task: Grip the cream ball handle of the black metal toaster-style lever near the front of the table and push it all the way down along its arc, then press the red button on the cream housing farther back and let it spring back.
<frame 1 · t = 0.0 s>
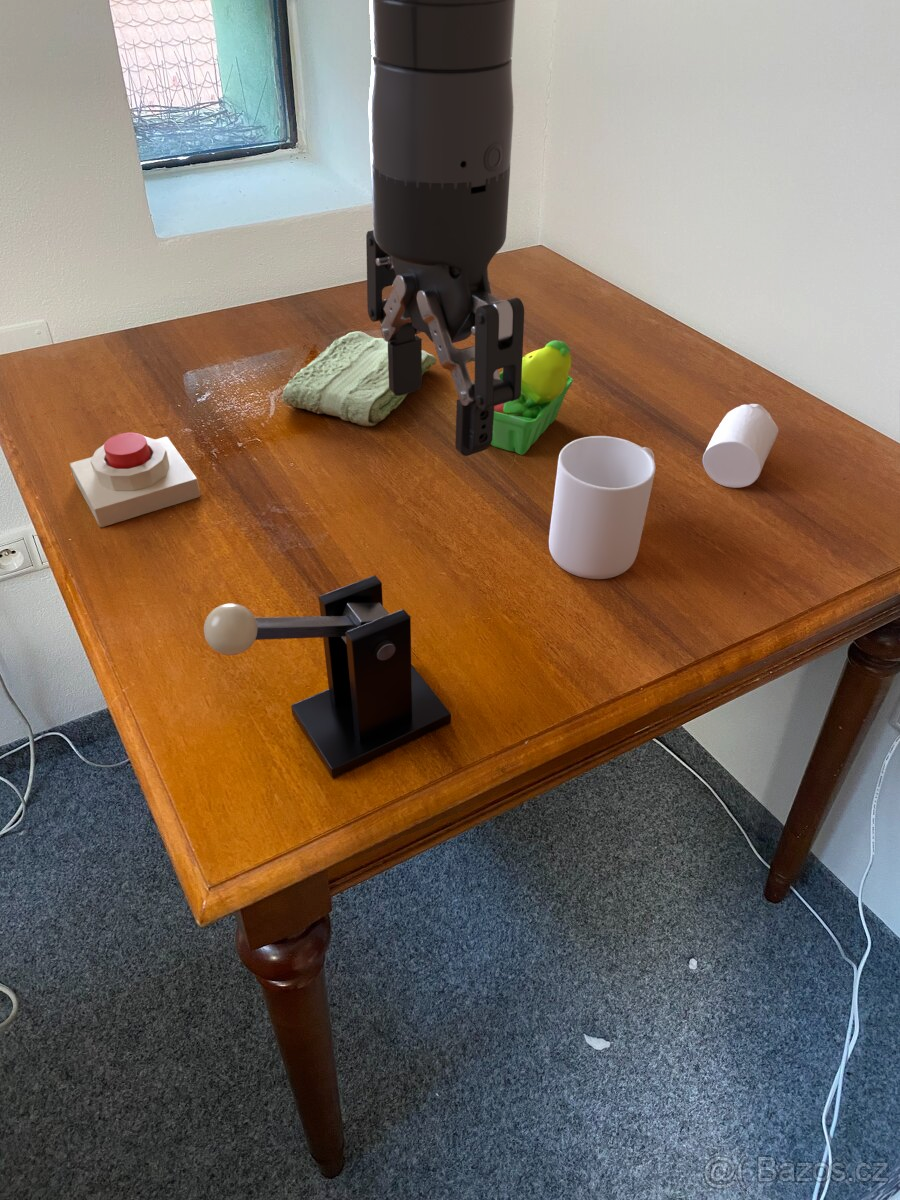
hand: (437, 419, 58), 22 cm above the table, tool pointing down, fingers open, 8 cm apart
button box: (137, 488, 88), on the table
cup: (603, 545, 83), on the table
fruit basket: (523, 433, 98), on the table
bracket: (371, 719, 67), on the table
washcloth: (360, 388, 104), on the table
button: (127, 451, 85), point 4 cm above the table, slide at 0.1 cm
roll: (738, 460, 94), on the table
lever: (300, 627, 57), point 12 cm above the table, hinge at 25.0°
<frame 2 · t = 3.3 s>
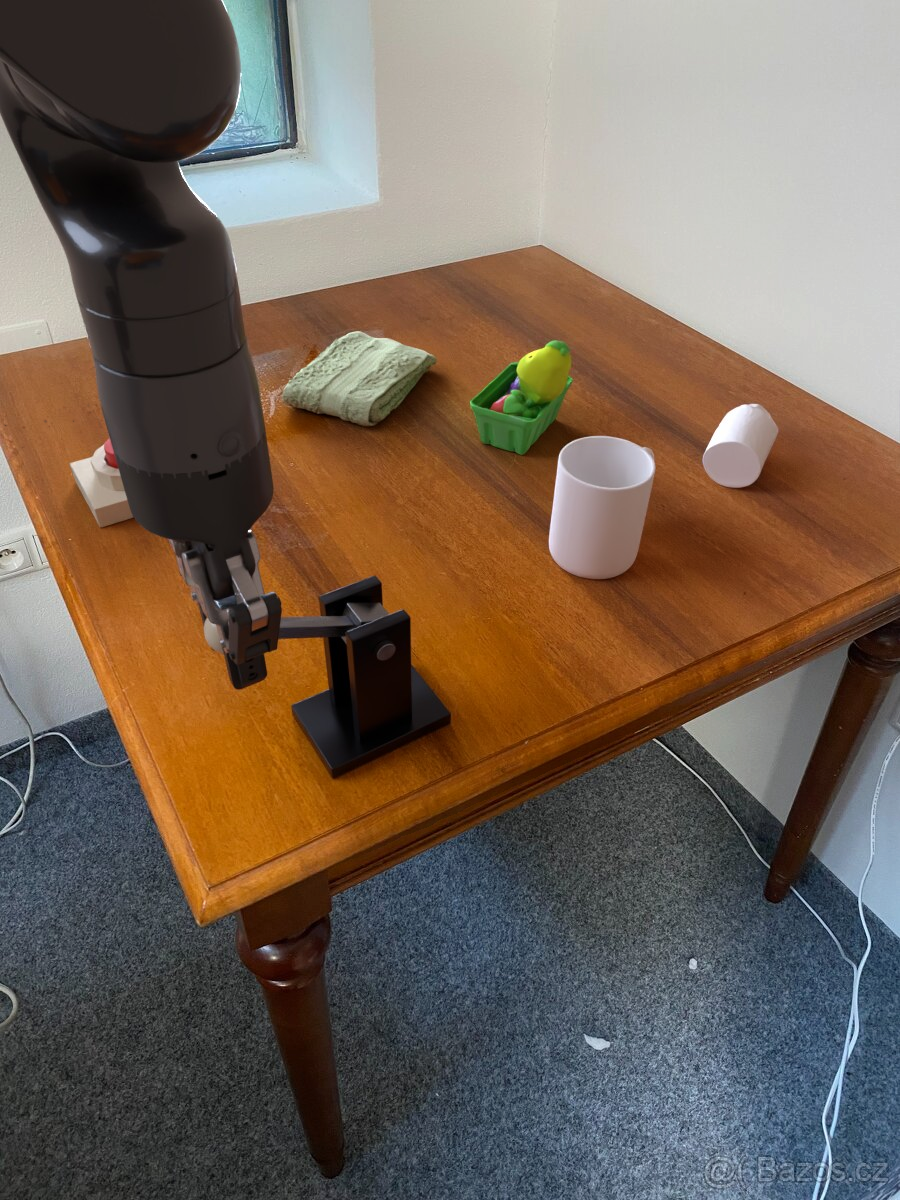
hand: (237, 661, 55), 11 cm above the table, tool pointing down, fingers closed on lever, 3 cm apart
lever: (300, 627, 57), point 12 cm above the table, hinge at 25.0°, touching gripper
everything else where it was.
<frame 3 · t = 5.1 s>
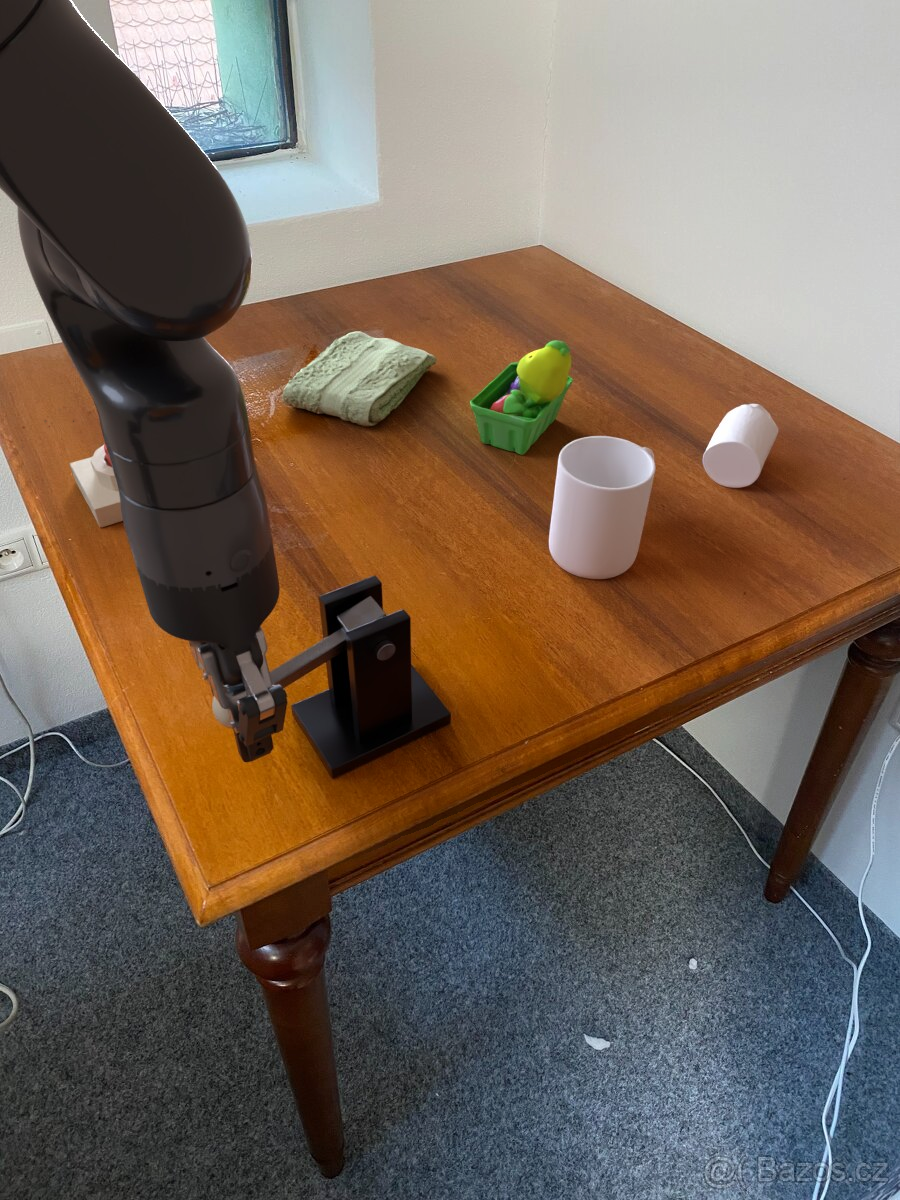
hand: (246, 734, 60), 4 cm above the table, tool pointing down, fingers closed on lever, 3 cm apart
lever: (301, 665, 59), point 9 cm above the table, hinge at -14.1°, touching gripper
everything else where it was.
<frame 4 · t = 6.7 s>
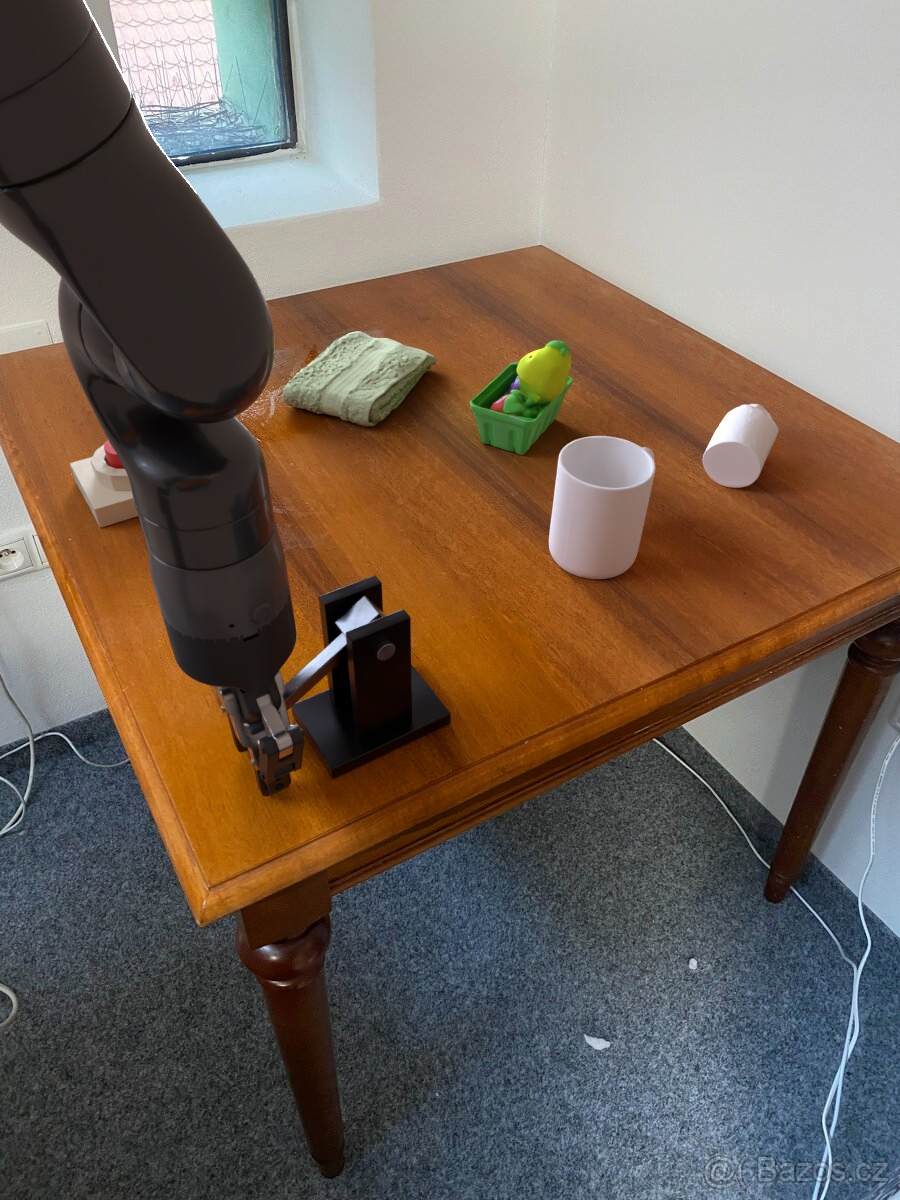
hand: (263, 765, 63), 0 cm above the table, tool pointing down, fingers open, 4 cm apart
lever: (310, 675, 60), point 7 cm above the table, hinge at -30.5°
everything else where it was.
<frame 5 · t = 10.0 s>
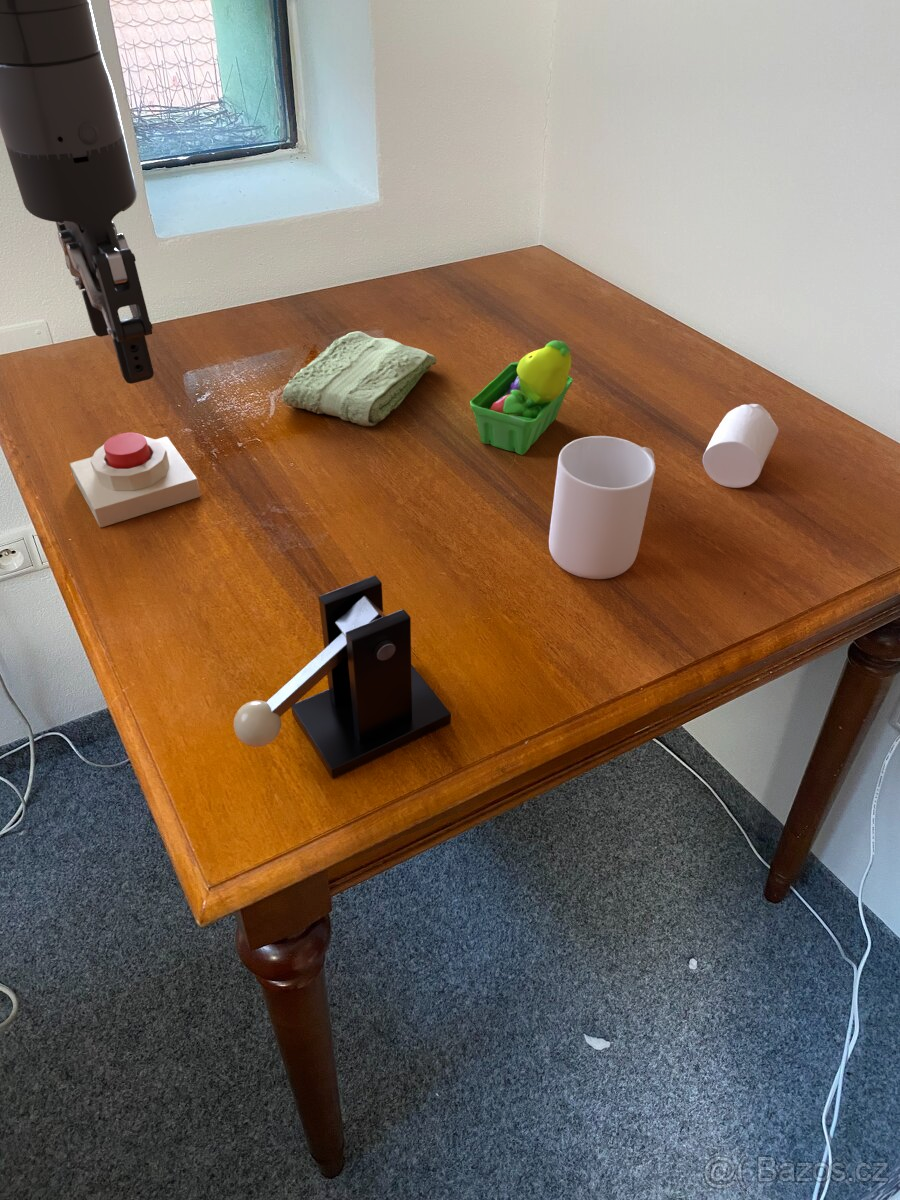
hand: (123, 355, 69), 19 cm above the table, tool pointing down, fingers open, 8 cm apart
nothing on the table moved.
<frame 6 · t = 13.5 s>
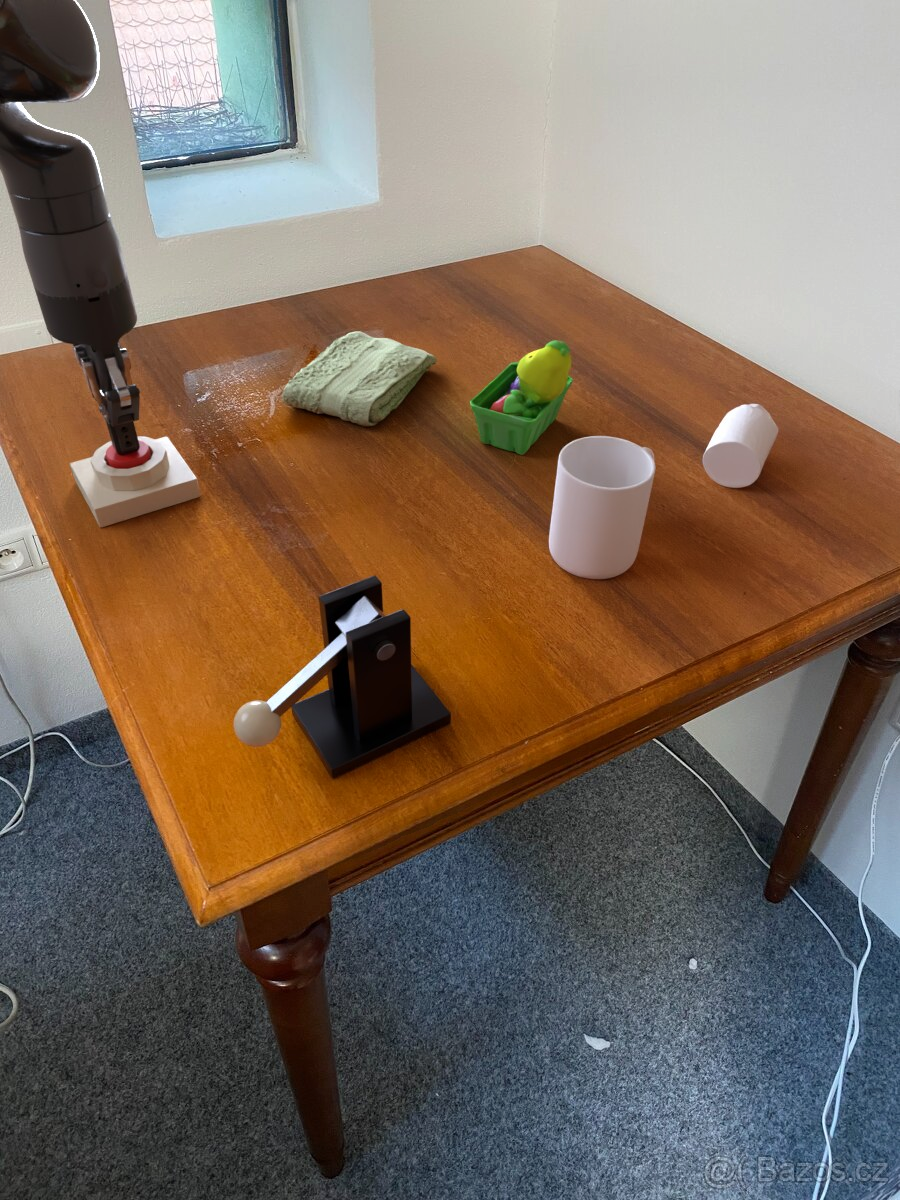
hand: (127, 449, 85), 5 cm above the table, tool pointing down, fingers closed
button: (129, 457, 86), point 4 cm above the table, slide at -0.7 cm, touching gripper
everything else where it was.
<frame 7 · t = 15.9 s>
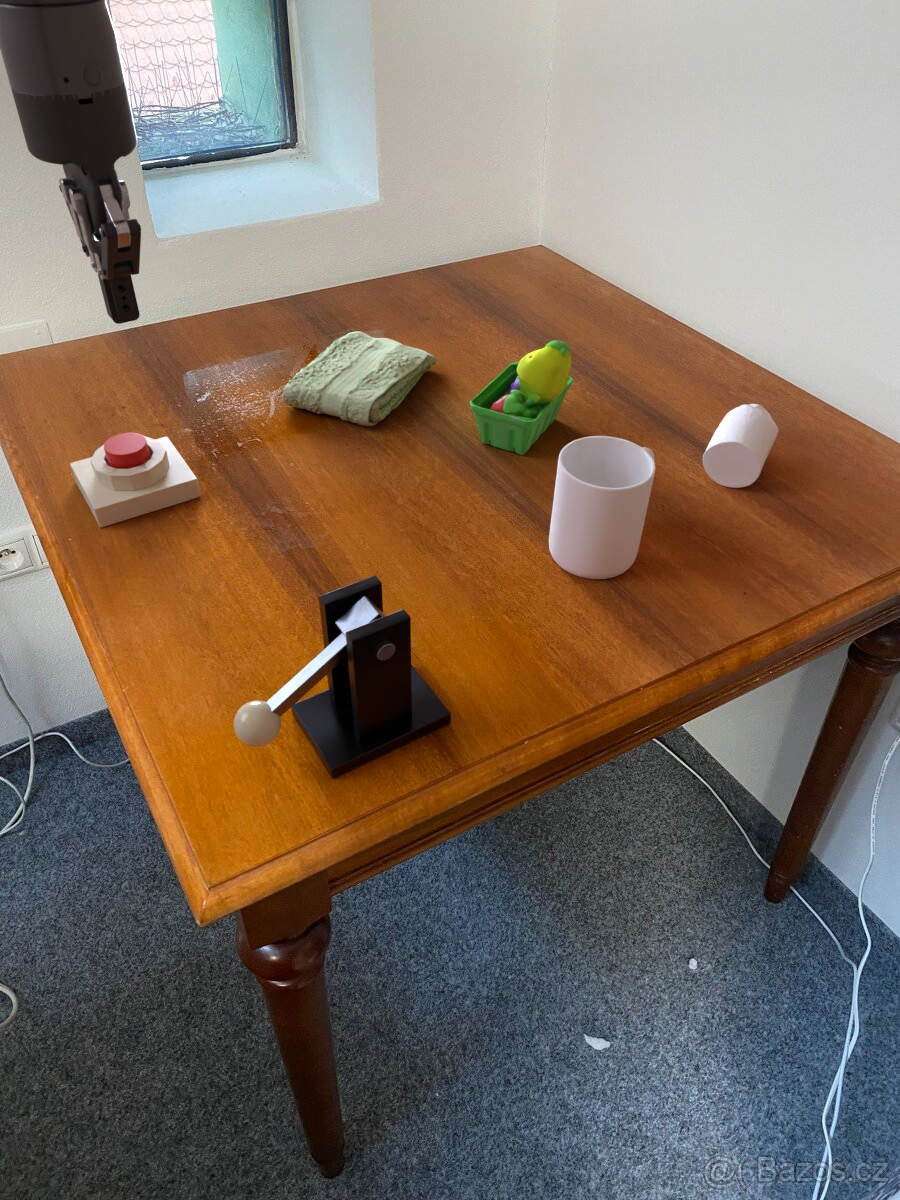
hand: (124, 318, 72), 20 cm above the table, tool pointing down, fingers closed
button: (127, 451, 85), point 4 cm above the table, slide at 0.1 cm
everything else where it was.
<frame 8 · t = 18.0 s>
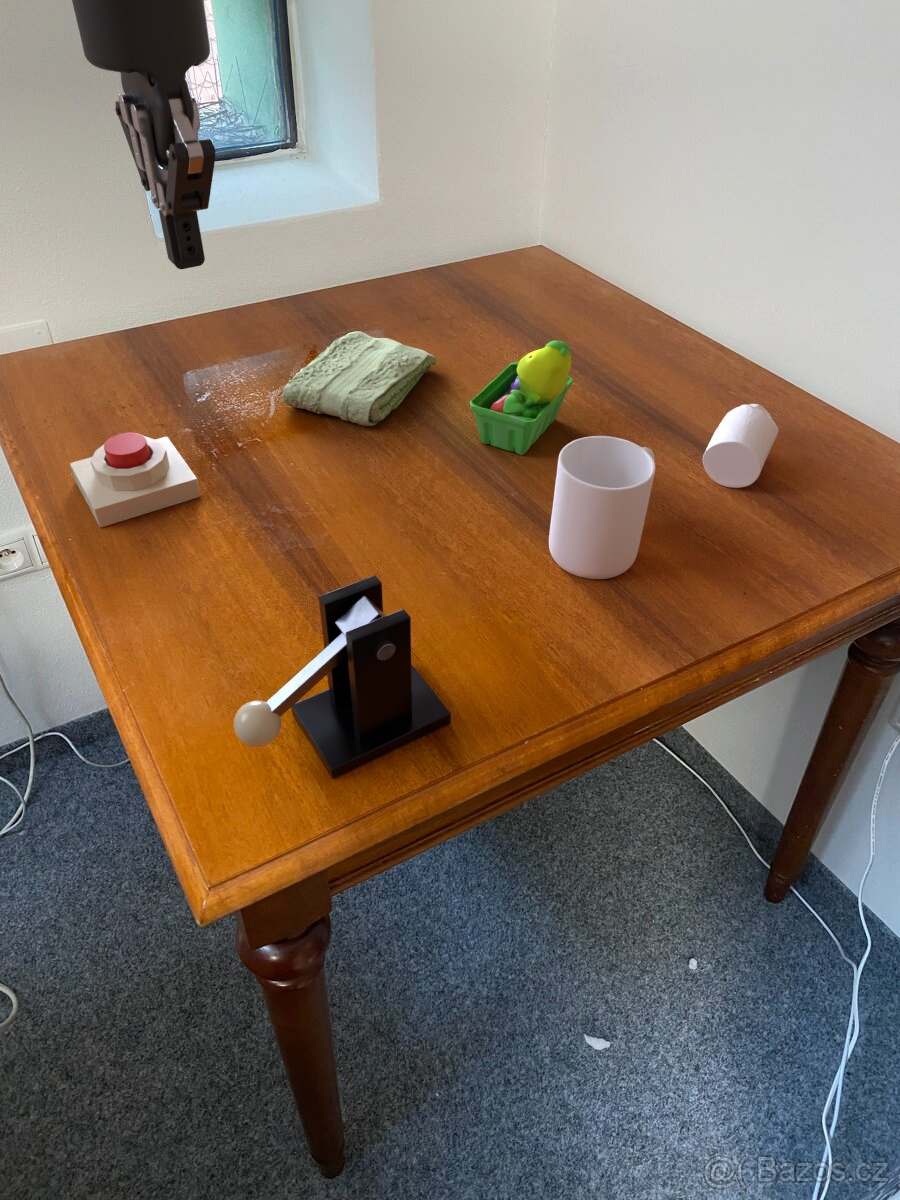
hand: (187, 263, 63), 27 cm above the table, tool pointing down, fingers closed
nothing on the table moved.
at the end: lever at -30° (first picture: +25°); button pushed in 1.0 cm at the most during the clip, back to where it started at the end; button slide at 0.1 cm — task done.
